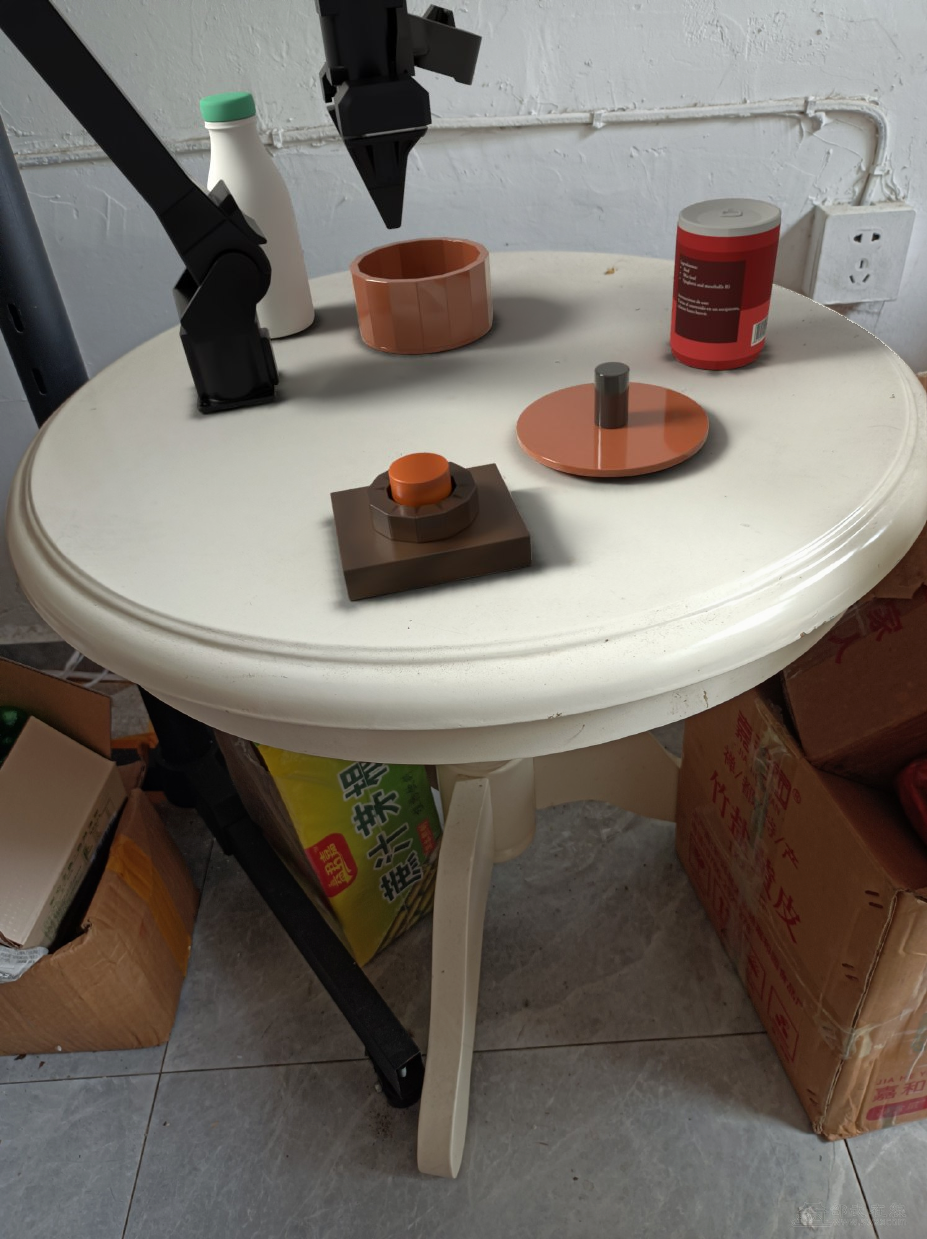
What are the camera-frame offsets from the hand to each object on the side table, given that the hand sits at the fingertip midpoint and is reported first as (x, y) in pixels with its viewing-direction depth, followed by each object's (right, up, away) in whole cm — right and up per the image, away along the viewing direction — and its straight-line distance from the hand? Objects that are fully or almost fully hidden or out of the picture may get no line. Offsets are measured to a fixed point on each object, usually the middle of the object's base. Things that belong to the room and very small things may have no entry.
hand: (386, 213), depth 70 cm
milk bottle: (-12, -4, +17) cm, 21 cm away
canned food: (+27, -11, +3) cm, 29 cm away
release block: (+4, -28, -16) cm, 32 cm away
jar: (+3, -5, +13) cm, 14 cm away
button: (+4, -25, -18) cm, 31 cm away
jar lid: (+17, -19, -8) cm, 27 cm away
